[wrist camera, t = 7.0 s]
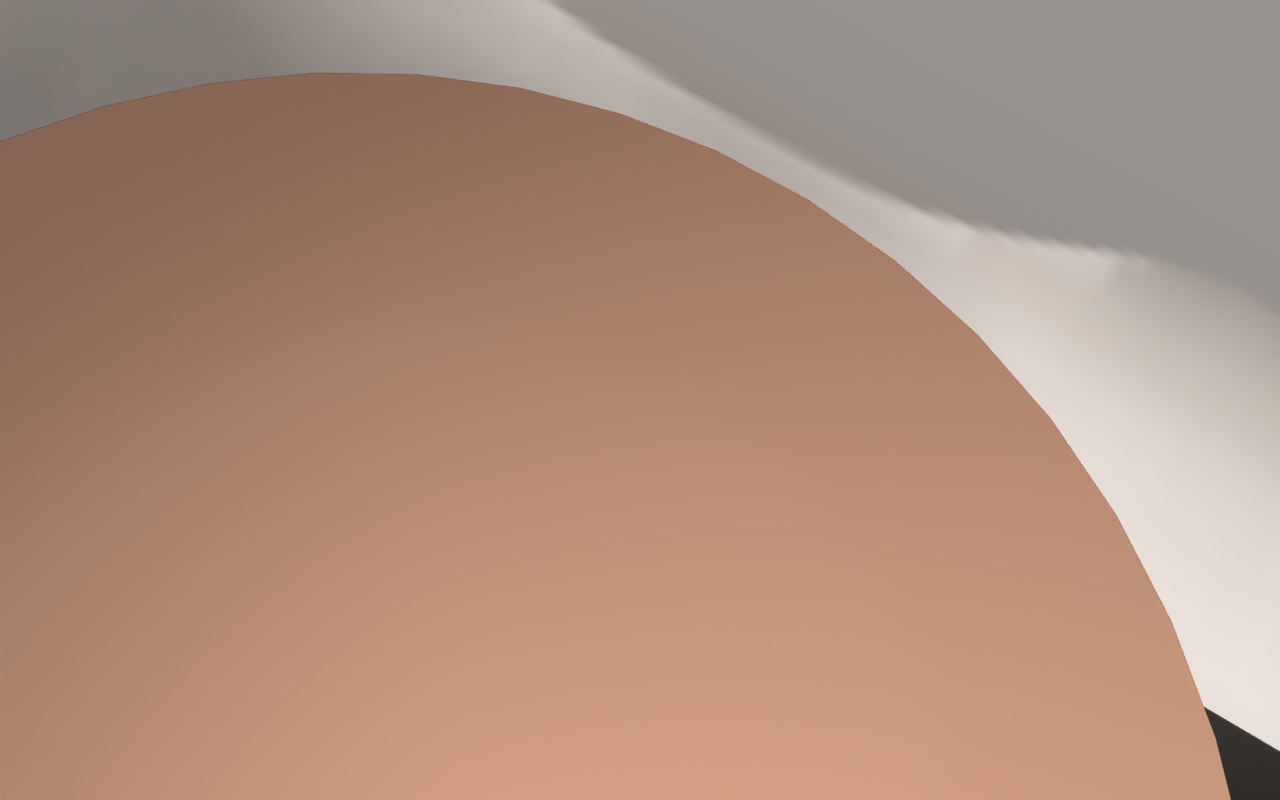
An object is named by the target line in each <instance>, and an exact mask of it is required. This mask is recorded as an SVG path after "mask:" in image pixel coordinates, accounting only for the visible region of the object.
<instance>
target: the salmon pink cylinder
mask: <svg viewBox="0 0 1280 800" xmlns="http://www.w3.org/2000/svg"><path fill="white" fill-rule="evenodd" d="M0 800H1231V799H1230V795H1229V791H1228V787H1227V783H1226V778H1225V774H1224V770H1223V766H1222V762H1221V758H1220V754H1219V750H1218V746H1217V742H1216V738H1215V736H1214V733H1213V730H1212V728H1211V725H1210V722H1209V720H1208V717H1207V714H1206V712H1205V709H1204V706H1203V704H1202V701H1201V698H1200V696H1199V693H1198V690H1197V688H1196V685H1195V682H1194V680H1193V677H1192V674H1191V672H1190V669H1189V666H1188V664H1187V661H1186V658H1185V656H1184V653H1183V650H1182V648H1181V645H1180V642H1179V640H1178V637H1177V634H1176V632H1175V629H1174V626H1173V624H1172V621H1171V619H1170V617H1169V615H1168V614H1167V612H1166V610H1165V608H1164V606H1163V604H1162V602H1161V600H1160V598H1159V596H1158V594H1157V592H1156V590H1155V588H1154V587H1153V585H1152V583H1151V581H1150V579H1149V577H1148V575H1147V573H1146V571H1145V569H1144V567H1143V565H1142V563H1141V561H1140V560H1139V558H1138V556H1137V554H1136V552H1135V550H1134V548H1133V546H1132V544H1131V542H1130V540H1129V538H1128V536H1127V534H1126V533H1125V531H1124V529H1123V527H1122V525H1121V523H1120V521H1119V519H1118V517H1117V515H1116V514H1115V512H1114V511H1113V509H1112V508H1111V506H1110V505H1109V503H1108V502H1107V500H1106V499H1105V497H1104V496H1103V495H1102V493H1101V492H1100V490H1099V489H1098V487H1097V486H1096V484H1095V483H1094V481H1093V480H1092V478H1091V477H1090V475H1089V474H1088V472H1087V471H1086V470H1085V468H1084V467H1083V465H1082V464H1081V462H1080V461H1079V459H1078V458H1077V456H1076V455H1075V453H1074V452H1073V450H1072V449H1071V447H1070V446H1069V445H1068V443H1067V442H1066V440H1065V439H1064V437H1063V436H1062V434H1061V433H1060V431H1059V430H1058V428H1057V427H1056V425H1055V424H1054V423H1053V421H1052V420H1051V418H1050V417H1049V416H1048V415H1047V414H1046V413H1045V411H1044V410H1043V409H1042V408H1041V407H1040V406H1039V405H1038V403H1037V402H1036V401H1035V400H1034V399H1033V398H1032V397H1031V395H1030V394H1029V393H1028V392H1027V391H1026V390H1025V388H1024V387H1023V386H1022V385H1021V384H1020V383H1019V382H1018V380H1017V379H1016V378H1015V377H1014V376H1013V375H1012V374H1011V372H1010V371H1009V370H1008V369H1007V368H1006V367H1005V366H1004V364H1003V363H1002V362H1001V361H1000V360H999V359H998V358H997V356H996V355H995V354H994V353H993V352H992V351H991V350H990V348H989V347H988V346H987V345H986V344H985V343H984V342H983V340H982V339H981V338H980V337H979V336H978V335H977V334H976V333H975V332H974V331H973V330H972V329H971V328H970V327H969V326H967V325H966V324H965V323H964V322H963V321H962V320H961V319H960V318H958V317H957V316H956V315H955V314H954V313H953V312H952V311H951V310H950V309H948V308H947V307H946V306H945V305H944V304H943V303H942V302H941V301H940V300H938V299H937V298H936V297H935V296H934V295H933V294H932V293H931V292H930V291H928V290H927V289H926V288H925V287H924V286H923V285H922V284H921V283H920V282H918V281H917V280H916V279H915V278H914V277H913V276H912V275H911V274H910V273H908V272H907V271H906V270H905V269H904V268H903V267H902V266H901V265H900V264H898V263H897V262H896V261H895V260H893V259H892V258H891V257H889V256H888V255H886V254H885V253H883V252H882V251H881V250H879V249H878V248H876V247H875V246H873V245H872V244H871V243H869V242H868V241H866V240H865V239H863V238H862V237H861V236H859V235H858V234H856V233H855V232H853V231H852V230H851V229H849V228H848V227H846V226H845V225H843V224H842V223H841V222H839V221H838V220H836V219H835V218H833V217H832V216H831V215H829V214H828V213H826V212H825V211H823V210H822V209H821V208H819V207H818V206H816V205H815V204H813V203H812V202H811V201H809V200H807V199H806V198H804V197H802V196H800V195H798V194H796V193H794V192H792V191H791V190H789V189H787V188H785V187H783V186H781V185H779V184H777V183H776V182H774V181H772V180H770V179H768V178H766V177H764V176H762V175H761V174H759V173H757V172H755V171H753V170H751V169H749V168H747V167H746V166H744V165H742V164H740V163H738V162H736V161H734V160H732V159H731V158H729V157H727V156H725V155H723V154H721V153H719V152H717V151H715V150H713V149H710V148H708V147H705V146H702V145H700V144H697V143H695V142H692V141H690V140H687V139H684V138H682V137H679V136H677V135H674V134H671V133H669V132H666V131H664V130H661V129H659V128H656V127H653V126H651V125H648V124H646V123H643V122H640V121H638V120H635V119H633V118H630V117H628V116H625V115H622V114H620V113H616V112H612V111H608V110H604V109H600V108H596V107H592V106H588V105H585V104H581V103H577V102H573V101H569V100H565V99H561V98H557V97H553V96H549V95H545V94H541V93H537V92H534V91H530V90H526V89H522V88H516V87H509V86H501V85H493V84H486V83H478V82H471V81H463V80H455V79H448V78H440V77H433V76H425V75H418V74H348V73H308V74H299V75H289V76H279V77H269V78H259V79H250V80H240V81H230V82H220V83H210V84H205V85H200V86H195V87H191V88H186V89H182V90H177V91H173V92H168V93H163V94H159V95H154V96H150V97H145V98H140V99H136V100H131V101H127V102H122V103H117V104H113V105H108V106H104V107H101V108H98V109H95V110H92V111H89V112H86V113H83V114H80V115H77V116H74V117H71V118H68V119H65V120H62V121H59V122H56V123H53V124H50V125H47V126H45V127H42V128H39V129H36V130H33V131H30V132H27V133H24V134H21V135H18V136H15V137H12V138H9V139H6V140H3V141H0Z"/></svg>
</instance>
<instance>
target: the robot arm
mask: <svg viewBox="0 0 1280 800" xmlns="http://www.w3.org/2000/svg"><path fill="white" fill-rule="evenodd" d="M1204 709H1205V712H1206V714H1207V717H1208V720H1209V722H1210V725H1211V728H1212V730H1213V733H1214V736H1215V738H1216V742H1217V746H1218V750H1219V754H1220V758H1221V762H1222V766H1223V770H1224V774H1225V778H1226V783H1227V787H1228V791H1229V795H1230V799H1231V800H1280V751H1278V750H1277V749H1275V748H1273V747H1272V746H1270V745H1268V744H1267V743H1265V742H1263V741H1261V740H1260V739H1258V738H1256V737H1255V736H1253V735H1251V734H1250V733H1248V732H1246V731H1244V730H1243V729H1241V728H1239V727H1238V726H1236V725H1234V724H1232V723H1231V722H1229V721H1227V720H1226V719H1224V718H1222V717H1221V716H1219V715H1217V714H1215V713H1214V712H1212V711H1210V710H1209V709H1207V708H1205V707H1204Z"/></svg>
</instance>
